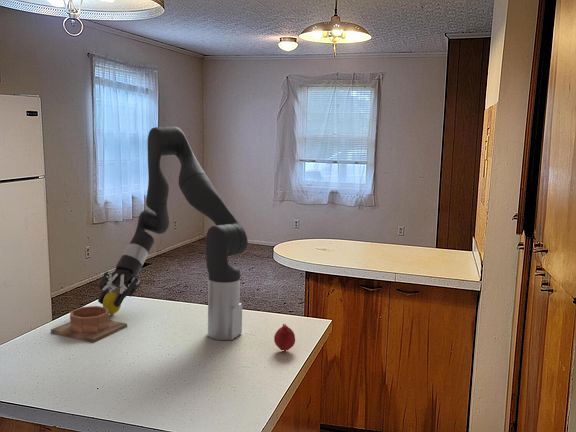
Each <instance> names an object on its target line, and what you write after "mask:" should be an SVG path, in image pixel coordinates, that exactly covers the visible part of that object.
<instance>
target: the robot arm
mask: <svg viewBox="0 0 576 432" xmlns="http://www.w3.org/2000/svg"><path fill="white" fill-rule="evenodd" d="M172 155H174V156H176V158H177V159H178V161H179V163H180V170H179V175H178V186H179V189H180V191H181V192H182V194H183V196H184V199H186V201H187V202H188V204H189V205H190V206H191V207H193V209H195V210H196V211H198V212H199V213H200V214H202V215H204V216H206V217H207V218H208V219H210V220H211V221H212V222H213V223H214V224H215V225H212V226H211V227H209V228H208V230H207V232H206V235H205V259H206V270H207V274H208V286H207V287H208V289H207V290H208V291H207V294H208V297H207V303H208V305H207V336H208V337H209V338H210V339H213V340H218V341H227V340H228V341H233V340H235V339H236V338H237V336H238V335H239V334H240V335H242V334H243V333H242V331H243V303H242V302H240V299H241V296H240V295H241V293H240V292H241V270H240V268H238V267H237V266H234V265H229V260H228V256H235V255H239V254H242V253H244V252H245V251H246V250H247V248H248V236H247V233H246V231H245V229H244V227H243V225H242V224H241V223H240V222H239V220H238V219H237V218H236V217H235V215H234V214H233V213H232V211H230V209H229V208H228V206H227V205H226V204H225V202H224V201H223V199H222V197H221V196H220V194H219V193H218V191H217V190H216V188H215V187H214V185H213V183H212V181H211V180H210V178H209V176H208V174H206V172H205V171H204V169H203V167H202V166H201V164H200V163H199V161H198V159H197V157H196V155H195V153H194V151H193V149H192V148H191V144H190V143H189V141H188V139H187V137H186V135H185V133H184V131H182V129H181V128H180V127H178V126H175V125H174V126H173V125H172V126H156V127H153V128H150V130H149V132H148V135H147V169H148V171H147V172H148V173H147V174H148V182H147V183H148V184H147V190H146V192H147V193H146V199H145V204H146V207H147V208H148V209H144V210H142V211H141V212H140V213H139V216H138V219H137V220H138V221H137V224H136V229H135V233H134V234H133V237H132V239H131V240H130V242H129V244H128V245H127V246H126V248H125V249H124V251H123V252H122V254H121V256H120V258H119V260H118V261H117V263H116V265H115V270H114V271H113V272H112V273H108V272H104V274H103V276H102V279H101V281H100V282H99V286H98V288H99V289H100V290H101V291H102V292H101V293H100V295H99V296H98V303H99V304H101V305H103V299H104V297H105V295H106V294H108V293H110V292H111V291H115V289H117V288H119V289H120V290H119V293H117V294H118V296H117V298H116V299H115V301H114V303H113V304H114V305H115V306H116V307H119V306H120V305H122V303H123V302H124V299H125V298H126V297H132V296H133V295H134V294H135V292H136V291H137V289H138V288H139V286H140V285H141V283H142V281H141V280H140V279H139V278H138V277H137V276H138V275H139V273H140V272H141V269H142V267H143V266H144V263H145V261H146V260H147V258H148V254H149V252H150V251H151V249H152V247H153V245H154V243H155V239H154V237H153V236H152V235H151V234H150V233H148V232H147V231H149V232H152V233H153V234H158V235H162V234H165V233H166V232H167V230H168V229H169V226H170V217H169V210H168V197H169V192H170V191H169V190H170V189H169V188H170V187H169V186H170V185H169V182H168V180H167V177H166V175H165V174H164V171H163V170H162V166H161V160H162V156H172ZM241 333H242V334H241ZM240 335H239V336H240ZM239 336H238V337H239ZM235 337H236V338H235ZM234 338H235V339H234Z"/></svg>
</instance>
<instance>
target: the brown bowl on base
mask: <svg viewBox="0 0 576 432" xmlns="http://www.w3.org/2000/svg"><path fill="white" fill-rule="evenodd" d="M69 319H70V321H69V322H66V323H63V324H60V325H59V326H58V325H57V326H56V327H54V328H51V329H50V333H52V334H55V335H59V336H63V337H69V338H73V339H77V340H81V341H86V342H90V343H95V342H98V341H101V340H102V339H104V338H107V337H109V336H110V335H113V334H116V333H117V332H119V331H122V330H123V329H126V328H128V323H126V322H121V321H116V320H110V314H109V311H108V308H105V307H103V306H99V305H93V306H92V305H89V306H81V307H78V308H75V309H73V310H70V313H69Z"/></svg>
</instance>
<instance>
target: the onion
mask: <svg viewBox="0 0 576 432" xmlns="http://www.w3.org/2000/svg"><path fill="white" fill-rule="evenodd" d="M273 340H274V341H273V342H274V344H275V346H277V348H278V349H279V350H280V351H281V350H284V351H285V352H287V351H289V350H291V348H293V347H294V345H295V343H296V335H295V332H294V331H293V330H292V329H291V328H290V327H289V326H288V325H287V324H285V323H283V324H282V326H281V327H280V328H278V329H277V330H276V332H275V334H274V336H273ZM286 350H287V351H286Z"/></svg>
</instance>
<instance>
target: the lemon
mask: <svg viewBox="0 0 576 432" xmlns="http://www.w3.org/2000/svg"><path fill="white" fill-rule="evenodd" d="M118 294H119V293H117V292H115V291H114V290H112V291H111V292H110V293H108V294H106V295H105V297H104V299H103V304H102V307H105V308H108V311H109V316H114V315H115V314H116V313H118V312H119V311H120V309H121V305H122V304H121V305H120V306H119V307H116V306H115V305H114V304H113V303H114V301H115V299H116V298H117V296H118Z"/></svg>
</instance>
